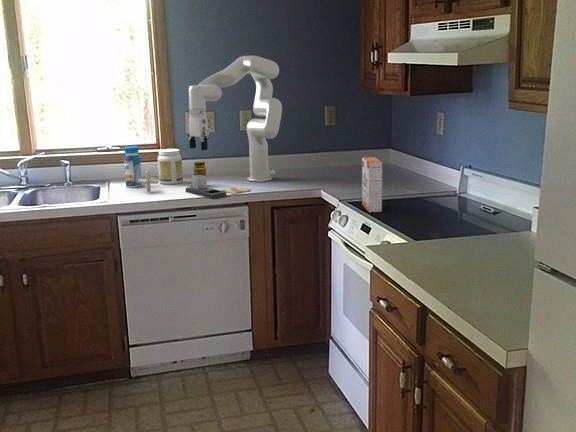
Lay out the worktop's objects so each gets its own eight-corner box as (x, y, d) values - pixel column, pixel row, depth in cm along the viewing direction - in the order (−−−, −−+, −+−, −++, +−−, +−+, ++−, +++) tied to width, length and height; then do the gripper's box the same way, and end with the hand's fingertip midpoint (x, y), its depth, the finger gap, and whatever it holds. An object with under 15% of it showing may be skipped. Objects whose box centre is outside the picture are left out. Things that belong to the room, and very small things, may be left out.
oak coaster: (237, 188, 320) (237, 186, 320) (250, 190, 313) (250, 189, 313) (221, 191, 314) (221, 189, 314) (233, 194, 307) (233, 192, 307)
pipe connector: (163, 190, 319) (161, 169, 317) (152, 194, 310) (151, 173, 308) (145, 189, 322) (143, 169, 320) (134, 193, 313) (132, 172, 311)
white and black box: (201, 191, 315) (200, 174, 313) (207, 192, 312) (206, 176, 310) (192, 192, 312) (191, 176, 310) (198, 194, 309) (197, 177, 307)
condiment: (209, 186, 327) (208, 162, 324) (194, 188, 323) (193, 164, 320) (203, 183, 333) (202, 160, 330) (188, 185, 329) (186, 162, 326)
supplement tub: (179, 179, 346) (177, 147, 342) (186, 183, 335) (184, 150, 331) (156, 181, 341) (154, 149, 337) (162, 185, 330) (160, 152, 326)
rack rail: (199, 189, 319) (199, 185, 318) (226, 196, 303) (226, 191, 302) (185, 191, 314) (185, 187, 313) (212, 198, 298) (212, 194, 297)
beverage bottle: (143, 186, 328) (140, 147, 323) (126, 188, 326) (123, 148, 321) (141, 183, 336) (139, 145, 331) (125, 185, 333) (121, 146, 329)
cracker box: (361, 205, 279) (361, 156, 274) (375, 204, 280) (375, 156, 275) (367, 213, 266) (368, 162, 261) (382, 212, 266) (383, 161, 261)
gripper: (214, 113, 300) (215, 150, 304) (194, 111, 313) (194, 146, 316) (201, 113, 295) (202, 151, 299) (180, 111, 308) (181, 148, 312)
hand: (198, 149), depth 308 cm, fingers open, 9 cm apart
